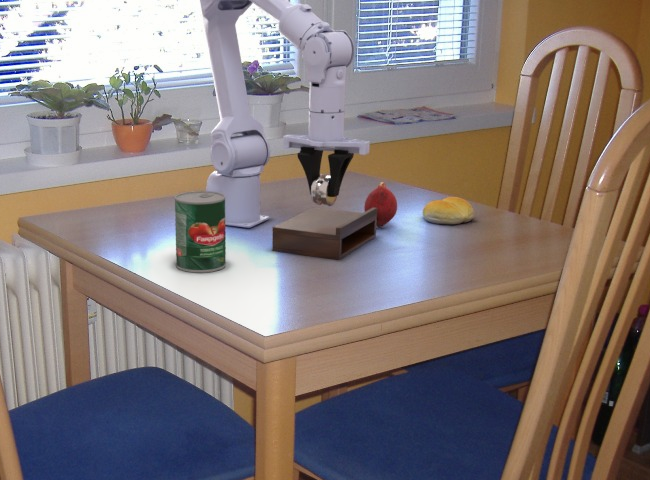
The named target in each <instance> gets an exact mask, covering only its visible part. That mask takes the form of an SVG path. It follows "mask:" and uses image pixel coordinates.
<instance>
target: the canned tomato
mask: <svg viewBox="0 0 650 480" xmlns="http://www.w3.org/2000/svg"><path fill="white" fill-rule="evenodd" d="M225 198H226V196H225V195H224V194H222V193H218V192H212V191H206V190H192V191H191V190H190V191H185V192H180V193H177V194H176V195H174V222H175V224H174V225H175V261H176V263H175V266H176V268H177V269H178V270H180V271H184V272H186V273H187V272H188V273H197V274H198V273H213V272H217V271H220V270H223V269H225V268H226V266H227V261H226V258H227V257H226V255H227V254H226V253H227V251H226V249H227V248H226V247H227V246H226V243H227V242H226V240H227V238H226V235H227V232H226V225H225V224H226V223H225V219H226V218H225Z"/></svg>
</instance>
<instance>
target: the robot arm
mask: <svg viewBox="0 0 650 480" xmlns="http://www.w3.org/2000/svg"><path fill="white" fill-rule="evenodd" d="M199 3H200V9H201V12H202V14H201V15H202V22H203V24H202V25H203V29H204V34H205V40H206V46H207V51H208V52H207V53H208V58H209V62H210V69H211V74H212V79H213V80H212V81H213V85H214V91H215V97H216V103H217V107H218V113H219V120H220V121H218V123H217V125H216V126H215V127H214V128H213V129H212V131H211V132H210V134H209V135H210V142H211V145H210V160H211V164H212V166H213V168H214V169H215V170H214V171H213V172H211V173H210V174H209V176H208V178H207V181H206V185H205V186H206V187H205V191H212V192H218V193H222V194H224V195H225V196H226V198H225V218H226V219H225V223H226V224H225V226H231V227H237V228H246V229H247V228H248V229H250V228H253V227H255V226H257V225H259V224H261V223H264V222H265V221H268V220H269V219H270V216H268V215H261V173H264V167H266V165H267V164H268V163H269V161H270V157H271V146H270V143H269V140H268V138H267V136H266V135H265V132H264V126H263V124H262V123H261V122H260V121H259V120H257V119H256V118H255V117H254V116H252V114H251V110H250V104H249V98H248V92H247V86H246V80H245V74H244V68H243V64H242V63H243V62H242V57H241V56H242V55H241V51H240V44H239V39H238V33H237V27H236V24H237V21H238V20H239V18H240V17H241V16H242V15H244V13H246V11H247V10H248V9H249V8H250V7H251V6H252V5H253V4H254V5H255V6H257V7H258V8H259V9H260V10H261V11H263V12H264V13H266V14H267V15H268V16H270V17H271V18H272V19H273V20H275V21H276V22H278V32H279V33H280V35H281V36H282V37H284V39H286V40H287V41H288V42H289V43H290V44H291V45H292V46H294V48H295V49H297V50H298V51H299V52H300V53H301V57H302V61H303V64H304V66H305V68H306V78H307V80H308V82H309V92H308V95H309V96H308V98H309V99H308V131H307V132H308V134H305V135H304V134H286V135H283V136H282V137H283V138H282V148H283V149H300V150H299V152H298V153H297V159H298V161H299V162H300V164H301V167H302V169H303V172H304V174H305V177H306V180H307V185H308V190H309V195H310V196H311V187H312V183H313V180H314V178H315V177H316V176H317V175H319V174H321V166H322V159H323V155H324V152H333V153H330V154H328V155H327V160H328V166H329V175H330V197H336V196H337V197H338V196H339V194H340V191H341V186H342V183H343V180H344V176H345V174H346V171H347V169H348V167H349V166H350V163H351V161H352V160H353V158H354V154H357V155H361V156H366V155H368V154H370V147H371V141H370V140H362V139H355V138H349V137H344V136H345V112H346V84H347V68H348V67H349V66H350V65H351V64H352V62H353V60H354V58H355V52H356V48H355V42H354V40H353V38H352V37H351V35H350V34H349V32H347V31H346V30H344V29H337V30H335V29H333V28H332V27H331V25H330V23H328V22H327V21H323V20H322V19H321V18H320V17H318V16H317V15H316V14H315V13H314V12H313V11H312V10H313V7H312V6H310V4H308V3H306V4H305V3H304V4H303V3H295V4H292V2H291V1H290V0H199ZM238 134H239V135H238ZM232 135H234V136H232Z"/></svg>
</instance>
